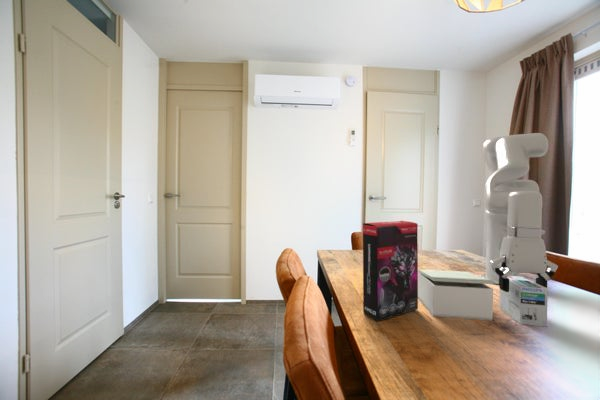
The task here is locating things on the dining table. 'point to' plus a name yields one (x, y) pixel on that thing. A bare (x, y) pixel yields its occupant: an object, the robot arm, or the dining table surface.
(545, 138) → the robot arm
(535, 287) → the light bulb box
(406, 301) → the graphics card box
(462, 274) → the lid
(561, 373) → the dining table surface
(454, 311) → the carton
